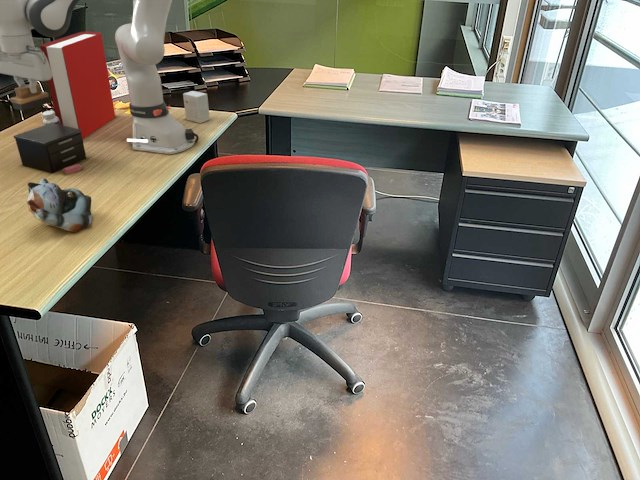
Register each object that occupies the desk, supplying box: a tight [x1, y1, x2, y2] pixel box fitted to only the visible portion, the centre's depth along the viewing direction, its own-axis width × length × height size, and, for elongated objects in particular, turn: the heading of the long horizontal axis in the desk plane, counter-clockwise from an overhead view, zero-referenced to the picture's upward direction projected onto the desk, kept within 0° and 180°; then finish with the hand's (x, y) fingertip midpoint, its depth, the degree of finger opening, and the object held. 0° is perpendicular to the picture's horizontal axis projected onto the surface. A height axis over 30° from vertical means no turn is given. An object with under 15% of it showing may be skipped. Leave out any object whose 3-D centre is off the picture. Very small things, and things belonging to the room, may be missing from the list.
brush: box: [9, 83, 50, 112], centre depth 165 cm, size 4×10×6 cm, turn 154°
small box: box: [182, 90, 211, 124], centre depth 213 cm, size 8×6×10 cm
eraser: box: [62, 163, 82, 175], centre depth 169 cm, size 5×2×1 cm, turn 140°
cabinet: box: [13, 123, 87, 175], centre depth 173 cm, size 14×14×10 cm
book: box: [39, 30, 116, 139], centre depth 197 cm, size 27×8×32 cm, turn 172°
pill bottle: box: [41, 110, 61, 126], centre depth 190 cm, size 5×5×10 cm
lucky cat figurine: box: [26, 178, 94, 233], centre depth 137 cm, size 15×12×14 cm
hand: (28, 91), depth 164 cm, fingers closed on brush, 2 cm apart
